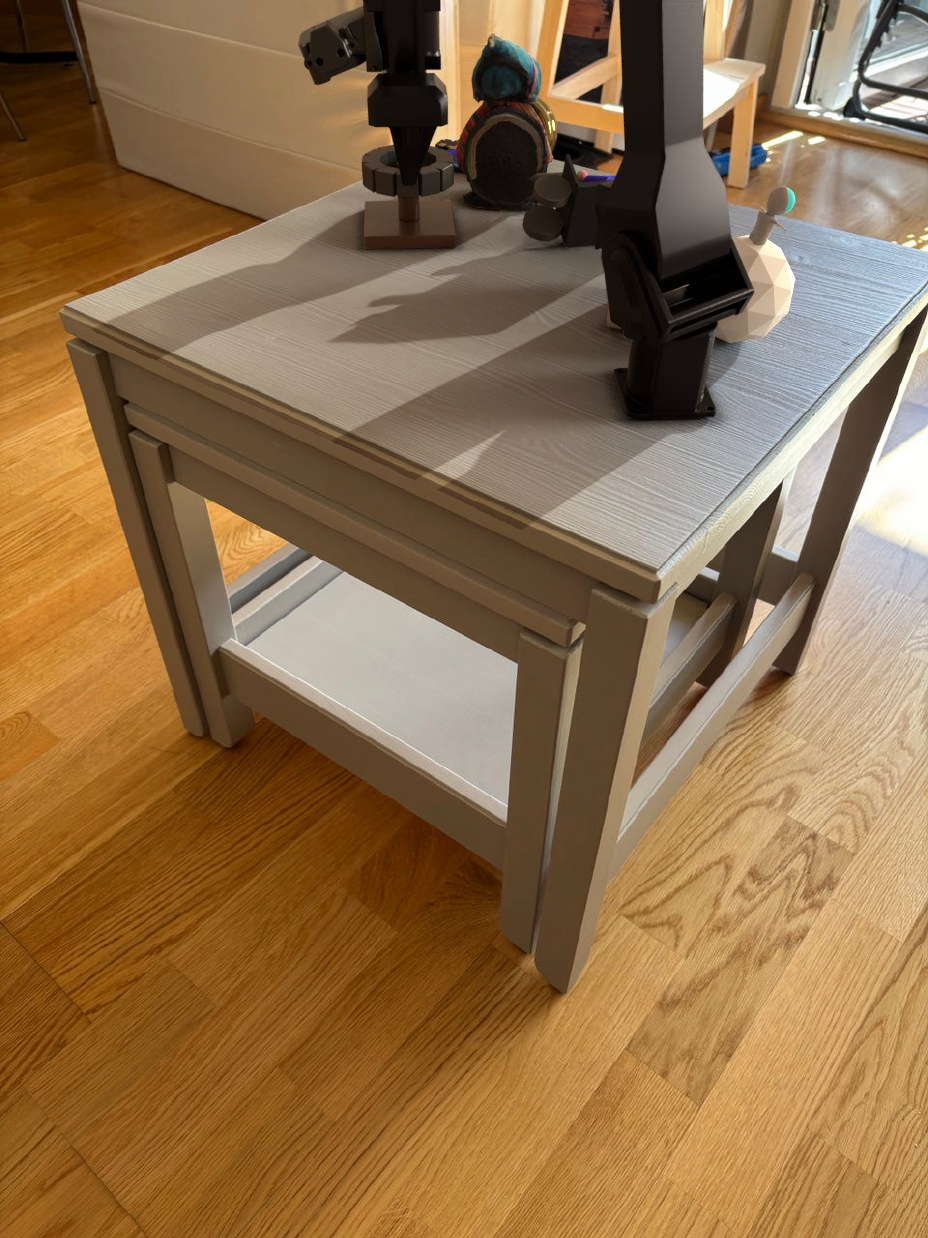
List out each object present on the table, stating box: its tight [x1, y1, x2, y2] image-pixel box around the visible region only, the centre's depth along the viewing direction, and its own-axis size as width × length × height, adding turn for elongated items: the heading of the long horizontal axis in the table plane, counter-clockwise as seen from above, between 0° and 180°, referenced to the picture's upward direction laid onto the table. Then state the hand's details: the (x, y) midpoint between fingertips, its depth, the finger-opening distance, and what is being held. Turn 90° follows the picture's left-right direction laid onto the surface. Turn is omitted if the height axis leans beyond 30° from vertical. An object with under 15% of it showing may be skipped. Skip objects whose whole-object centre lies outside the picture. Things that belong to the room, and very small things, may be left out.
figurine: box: [456, 32, 554, 212], centre depth 93 cm, size 10×7×15 cm
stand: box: [363, 162, 457, 250], centre depth 90 cm, size 8×8×6 cm
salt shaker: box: [527, 96, 558, 153], centre depth 103 cm, size 7×7×10 cm
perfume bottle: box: [715, 185, 796, 344], centre depth 74 cm, size 8×8×12 cm
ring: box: [361, 144, 455, 199], centre depth 89 cm, size 8×8×2 cm
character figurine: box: [521, 154, 616, 249], centre depth 89 cm, size 8×7×15 cm
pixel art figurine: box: [434, 138, 465, 174], centre depth 108 cm, size 6×1×12 cm
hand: (408, 180), depth 86 cm, fingers closed on ring, 2 cm apart
